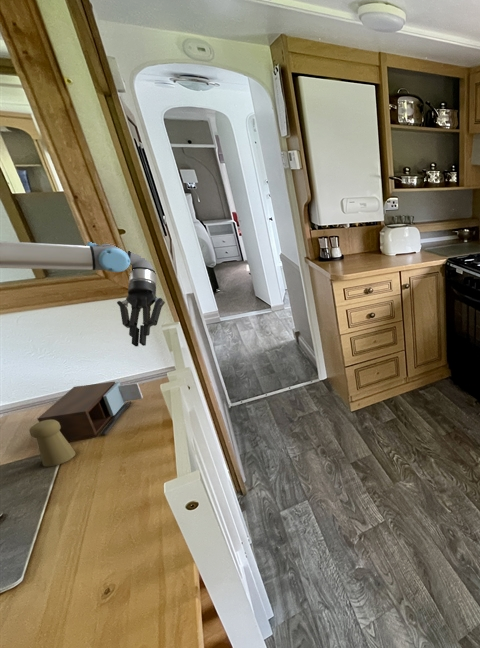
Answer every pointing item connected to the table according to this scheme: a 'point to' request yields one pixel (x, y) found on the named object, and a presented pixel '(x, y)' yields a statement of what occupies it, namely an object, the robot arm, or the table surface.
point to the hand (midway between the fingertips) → (138, 344)
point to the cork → (51, 443)
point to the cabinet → (83, 412)
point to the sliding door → (121, 396)
